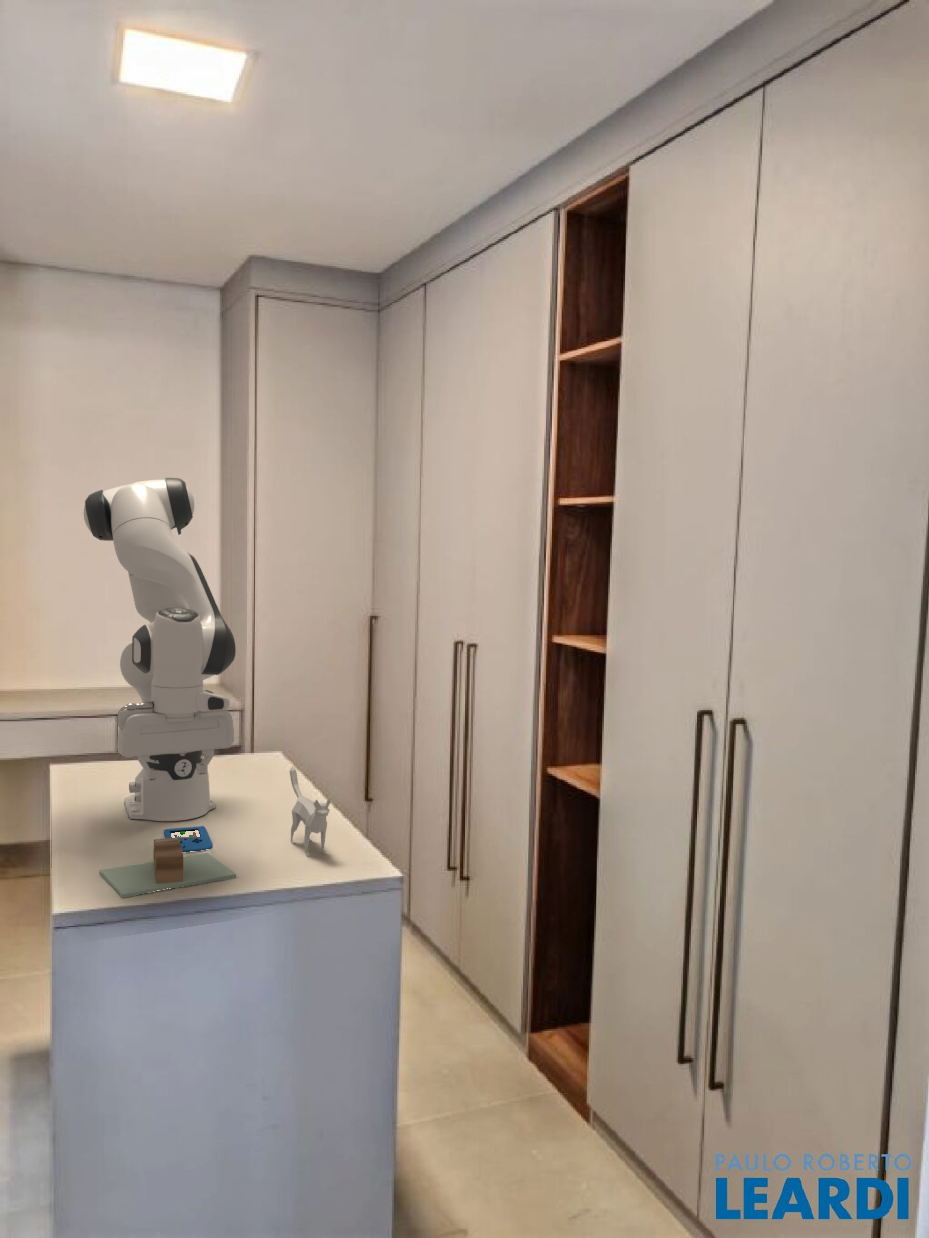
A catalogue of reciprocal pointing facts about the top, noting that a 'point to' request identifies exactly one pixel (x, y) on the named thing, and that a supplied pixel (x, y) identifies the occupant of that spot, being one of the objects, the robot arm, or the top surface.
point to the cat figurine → (308, 814)
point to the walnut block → (168, 860)
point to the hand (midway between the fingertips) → (176, 776)
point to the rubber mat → (144, 881)
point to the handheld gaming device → (191, 838)
